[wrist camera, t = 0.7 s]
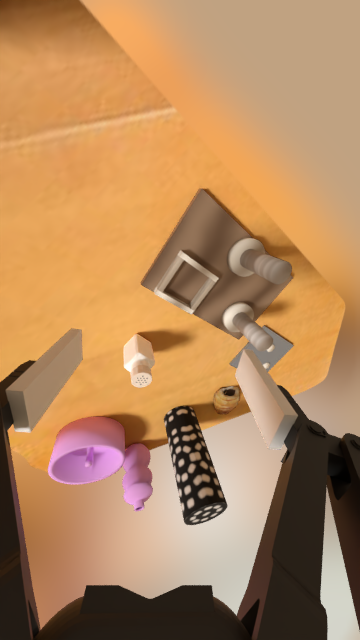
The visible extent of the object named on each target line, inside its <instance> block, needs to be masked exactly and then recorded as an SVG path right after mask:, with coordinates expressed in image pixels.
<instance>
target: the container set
mask: <svg viewBox="0 0 360 640" xmlns="http://www.w3.org/2000/svg"><path fill="white" fill-rule="evenodd" d="M149 462H150V452H149V449H148V448H147V447H146V446H145V445H143V444H140V443H137V444H133V445H131V446H129V447H128V448H127V449H126V451H125V431H124V428H123V426H122V425H121V424H120V423H119V422H118V421H116V420H114V419H111V418H107V417H87V418H82V419H79V420H76V421H73V422H71V423H69V424H68V425H66V426H65V427H63V428H62V429H61V430H60V431H59V433H58V435H57V438H56V441H55V445H54V449H53V452H52V456H51V460H50V463H49V467H48V474H49V475H50V477H52V478H53V479H54V480H56V481H58V482H61V483H65V484H86V483H92V482H95V481H99V480H102V479H104V478H107V477H109V476H111V475H112V474H114V473H115V472H117V471H118V470H119V469H120V468H121V467H122V466H123V468H124V470H125V471H126V474H125V475H124V477H123V482H122V484H123V488H124V490H125V493H124V500H125V502H127V503H128V504H131V505H134V511H140V510H142V509H144V502H145V501H146V500H148V498H149V497H150V496H151V494H152V491H153V488H152V486H151V482H152V473H151V471H150V469H149V468H147V467H148V465H149Z"/></svg>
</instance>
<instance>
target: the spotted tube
mask: <svg viewBox="0 0 360 640" xmlns="http://www.w3.org/2000/svg"><path fill="white" fill-rule="evenodd" d="M164 422H165V427H166V432H167V437H168V442H169V447H170V452H171V457H172V462H173V467H174V472H175V477H176V482H177V487H178V492H179V497H180V502H181V507H182V512H183V517H184V522H185V524H187V525H196V524H200V523H203V522H206V521H209V520H211V519H213V518H215V517H216V516H218V515H220V514H221V513H222V512H224V511H225V509H226V508H227V503H226V500H225V497H224V494H223V492H222V489H221V486H220V483H219V480H218V477H217V474H216V472H215V469H214V466H213V463H212V460H211V457H210V454H209V452H208V449H207V446H206V443H205V440H204V437H203V435H202V432H201V429H200V426H199V423H198V420H197V417H196V415H195V412H194V410H193V408H191V407H189V406H180V407H176V408H174V409H172V410H170V411H169V412H168V413H167V414H166V416H165V418H164Z"/></svg>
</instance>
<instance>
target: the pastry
mask: <svg viewBox="0 0 360 640" xmlns="http://www.w3.org/2000/svg"><path fill="white" fill-rule="evenodd" d="M239 400H240V395H239V388H238V387H235V386H229V387H226V388H221V389H219V390H218V391H217V392H216V393H215V395H214V406H215V410H216V412H217V413H218V414H228V413H229V412H230V411H231V410H233V409H234V408H235V407H236V406H237V405H238V401H239Z"/></svg>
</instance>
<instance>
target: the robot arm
mask: <svg viewBox="0 0 360 640" xmlns="http://www.w3.org/2000/svg"><path fill="white" fill-rule="evenodd" d="M82 360H83V357H82V330H79V329H70V330H69V331H68V332H67V333H66V334H65V335H64V336H63V337H62V338H61V339H59V340H58V341H57V342H56V343H55V344H54V345H53V346H52V347H51V348H50V349H49V350H48V351H47V352H46V353H45V354H43V355H42V356H41V357H40V358H39V359H38V360H37V361H31V360H30V361H28V362H26V363H24V364H21V365H20V366H19V367H18V368H17V369H15V370H14V372H12V373H11V374H10V375H9V376H8V377H6V378H5V379H4V380H3V381H1V382H0V640H327V614H326V610H325V608H324V607H323V605H322V604H321V600H320V590H321V572H322V555H323V537H324V519H325V503H326V485H327V488H328V493H329V498H330V502H331V506H332V511H333V515H334V520H335V524H336V528H337V533H338V537H339V542H340V546H341V550H342V555H343V559H344V563H345V568H346V572H347V577H348V581H349V585H350V590H351V594H352V599H353V603H354V607H355V612H356V616H357V620H358V625H359V630H360V437H358V436H356V435H353V434H350V433H347V434H345V435H344V436H343V438H342V439H341V438H338V437H335V436H332V435H329V434H328V433H327V432H326V430H325V429H324V428H323V427H322V426H321V425H319V424H318V423H316V422H314V421H311V420H309V419H308V418H307V417H306V415H305V414H304V412H303V411H302V410H301V408H300V407H299V406H298V404H297V403H296V402H295V401H294V399H293V398H292V396H291V395H290V394H289V392H288V391H287V390H286V389H285V388H283V387H282V386H280V385H276V383H275V382H274V380H273V379H272V378H271V376H270V375H269V373H268V372H267V370H266V369H265V368H264V366H263V365H262V363H261V362H260V360H259V359H258V358H257V356H256V355H255V353H254V352H253V350H247V349H243V352H242V355H241V358H240V362H239V365H238V368H237V371H236V374H235V377H236V379H237V381H238V383H239V386H240V388H241V390H242V392H243V394H244V397H245V399H246V401H247V403H248V406H249V408H250V410H251V412H252V414H253V417H254V419H255V421H256V423H257V426H258V428H259V430H260V432H261V434H262V437H263V438H264V441H265V443H266V445H267V448H268V449H277V450H280V449H281V447H282V445H283V444H284V443H285V445H286V447H287V451H286V453H285V455H284V457H283V459H282V461H281V462H282V463H283V464H282V467H281V471H280V474H279V478H278V481H277V485H276V488H275V492H274V495H273V499H272V502H271V506H270V509H269V513H268V516H267V520H266V524H265V527H264V531H263V534H262V538H261V542H260V545H259V548H258V552H257V555H256V559H255V563H254V566H253V569H252V573H251V576H250V580H249V584H248V587H247V590H246V592H245V595H244V597H243V600H242V602H241V605H240V607H239V610H238V613H237V616H236V615H235V614H234V612H233V611H232V610H231V609H230V608H229V607H228V606H227V605H225V604H224V603H223V602H221V601H220V600H219V599H217V598H215V597H213V592H212V586H211V585H202V586H201V585H194V586H193V585H183V586H180V587H178V588H176V589H173V590H171V591H169V592H167V593H164V594H162V595H160V596H158V597H155V598H153V599H148V598H145V597H143V596H141V595H138V594H136V593H134V592H132V591H130V590H127V589H125V588H123V587H121V586H119V585H104V586H103V585H102V586H101V585H100V586H99V585H94V586H92V585H87V586H86V590H85V594H84V596H83V597H80V598H78V599H76V600H74V601H73V602H71V603H69V604H68V605H66V606H65V607H64V608H63V609H61V610H60V611H59V612H58V613H57V614H56V615H55V616H54V617H52V618H51V619H50V620H49V621H48V623H47V624H46V625H45V626H44V627H43V628H42V629H41V630H40V624H39V618H38V613H37V607H36V602H35V597H34V592H33V587H32V581H31V575H30V569H29V562H28V556H27V549H26V543H25V537H24V531H23V525H22V518H21V512H20V506H19V499H18V493H17V487H16V480H15V474H14V468H13V461H12V455H11V449H10V443H9V436H8V432H7V430H8V429H9V428H10V427H11V425H12V424H13V425H14V429H15V431H18V432H31V431H32V430H33V428H34V427H35V426H36V424H37V423H38V421H39V420H40V419H41V417H42V416H43V414H44V413H45V412H46V410H47V409H48V407H49V406H50V404H51V403H52V402H53V400H54V399H55V397H56V396H57V395H58V393H59V392H60V390H61V389H62V388H63V386H64V385H65V383H66V382H67V381H68V379H69V378H70V376H71V375H72V374H73V372H74V371H75V369H76V368H77V367H78V365H79V364H80V362H81V361H82Z"/></svg>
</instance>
